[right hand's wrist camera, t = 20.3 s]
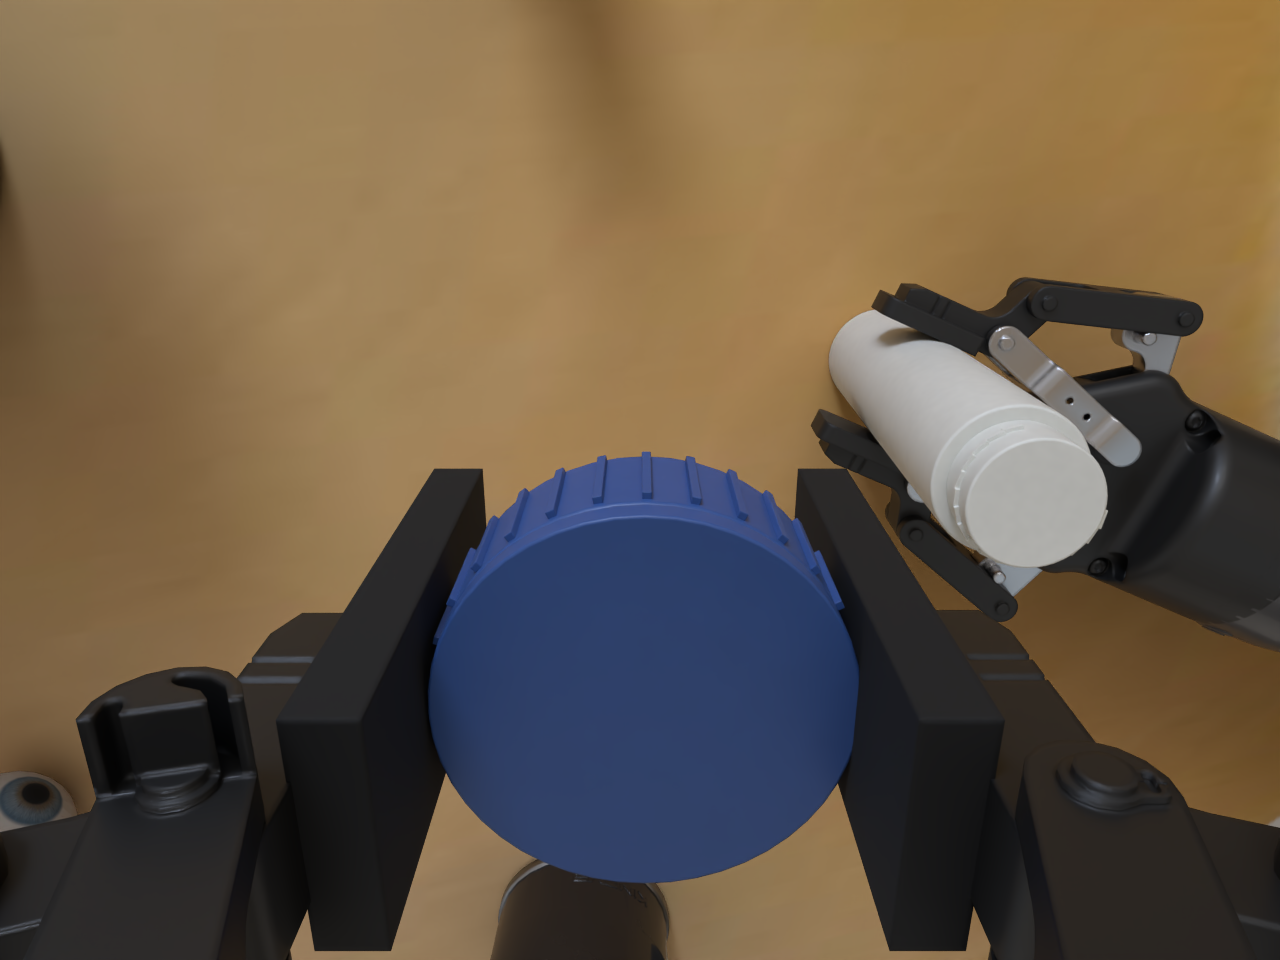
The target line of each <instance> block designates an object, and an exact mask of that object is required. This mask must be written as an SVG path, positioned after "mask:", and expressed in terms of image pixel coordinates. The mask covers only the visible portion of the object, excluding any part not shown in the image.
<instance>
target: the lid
mask: <svg viewBox="0 0 1280 960" xmlns="http://www.w3.org/2000/svg"><path fill="white" fill-rule="evenodd" d="M446 605H447V607H446V609H445V612H444V614H443V616H442V619H441V621H440V623H439V626H438V628H437V631H436V633H435V635H434V639H433V644H434V645H437V647H436V650H435V653H434V657H433V660H432V663H431V669H430V676H429V683H428V715H429V721H430V727H431V732H432V738H433V741H434V744H435V747H436V750H437V753H438V756H439V759H440V762H441V764H442V765H443V767H444V769H445V771H446V773H447V775H448V777H449V779H450V781H451V783H452V785H453V786H454V787H455V789H456V790H457V792H458V793H459V795H460V796H461V798H462V799H463V800H464V802H465V803H466V804H467V805H468V806H469V808H470V809H471V810H472V811H473V812H474V813H475V814H476V815H477V816H478V817H479V819H480V820H481V821H482V822H484V823H485V824H486V825H487V826H488V827H489V828H491V829H492V830H493V831H494V832H495V833H496V834H498V835H499V836H500V837H501V838H503V839H504V840H506V841H507V842H509V843H510V844H512V845H513V846H515V847H516V848H518V849H519V850H521V851H523V852H525V853H527V854H528V855H530V856H532V857H534V858H536V859H538V860H540V861H542V862H544V863H547V864H549V865H552V866H555V867H557V868H560V869H563V870H565V871H568V872H572V873H575V874H579V875H583V876H587V877H591V878H596V879H602V880H609V881H615V882H628V883H661V882H674V881H680V880H687V879H693V878H698V877H702V876H706V875H710V874H713V873H717V872H721V871H724V870H726V869H729V868H732V867H734V866H737V865H740V864H742V863H745V862H747V861H749V860H751V859H753V858H755V857H757V856H759V855H761V854H762V853H764V852H766V851H768V850H770V849H771V848H773V847H774V846H776V845H777V844H779V843H780V842H782V841H783V840H785V839H786V838H788V837H789V836H790V835H792V834H793V833H794V832H795V831H796V830H797V829H799V828H800V827H801V826H802V825H803V824H804V823H806V822H807V821H808V820H809V819H810V818H811V817H812V815H813V814H814V813H815V812H816V811H817V810H818V809H819V808H820V807H821V806H822V804H823V803H824V802H825V801H826V799H827V798H828V796H829V795H830V794H831V792H832V791H833V789H834V788H835V786H836V785H837V784H838V782H839V780H840V778H841V776H842V774H843V772H844V770H845V768H846V766H847V764H848V762H849V760H850V757H851V754H852V746H853V737H854V727H855V717H856V707H857V697H858V687H859V665H858V661H857V658H856V654H855V651H854V648H853V644H852V641H851V638H850V636H849V634H848V631H847V629H846V627H845V624H844V622H843V619H842V617H841V615H840V612H839V610H841V609H843V608H845V606H844V604H843V602H842V600H841V597H840V595H839V593H838V591H837V588H836V586H835V584H834V582H833V579H832V577H831V575H830V572H829V570H828V568H827V566H826V563H825V561H824V559H823V557H822V555H821V552H820V551H816V552H814V551H813V549H812V547H811V544H810V542H809V540H808V537H807V535H806V533H805V530H804V528H803V526H802V523H801V522H800V521H799V520H798V518H796V519H794V520H793V521H791V520H790V518H789V517H788V516H787V515H786V514H785V513H784V512H783V511H782V510H781V509H780V508H779V507H778V506H777V505H776V503H775V500H774V498H773V495H772V494H771V493H770V492H768V491H767V490H766V491H765V492H764V493H763V494H762V493H760V492H759V491H757V490H756V489H754V488H753V487H751V486H749V485H748V484H746V483H745V482H743V481H741V480H739V479H738V477H737V473H736V472H735V471H733V470H730V469H729V470H728V471H727V473H724V472H722V471H719V470H716V469H713V468H710V467H707V466H704V465H701V464H698V463H696V462H695V458H694V457H689V456H686V460H685V461H683V460H678V459H672V458H660V457H651V452H642V457H628V458H616V459H611V460H607V458H606V455H604V456H599V457H598V458H597V462H595V463H591V464H588V465H585V466H582V467H579V468H575V469H572V470H569V471H567V472H565V470H564V468H561V469H559V470H556V472H555V476H554V478H552V479H550V480H548V481H546V482H544V483H542V484H541V485H539V486H538V487H536V488H535V489H533V490H531V491H530V492H528V490H527V489H526V488H525V489H523V490H522V491H520V492H519V494H518V497H517V500H516V503H514V504H513V505H512V506H511V507H510V508H509V509H507V510H506V511H505V512H504V514H503V515H502V516H501V517H500V518H499V519H498V518H497V517H496V516H493V517H492V518H491V519H490V520H489V522H488V525H487V527H486V530H485V532H484V535H483V537H482V540H481V542H480V545H479V546H478V548H477V550H475V549H473V548H470V550H469V552H468V553H467V556H466V558H465V561H464V563H463V565H462V568H461V570H460V572H459V575H458V577H457V580H456V582H455V584H454V587H453V589H452V591H451V594H450V596H449V598H448V601H447V603H446Z"/></svg>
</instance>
